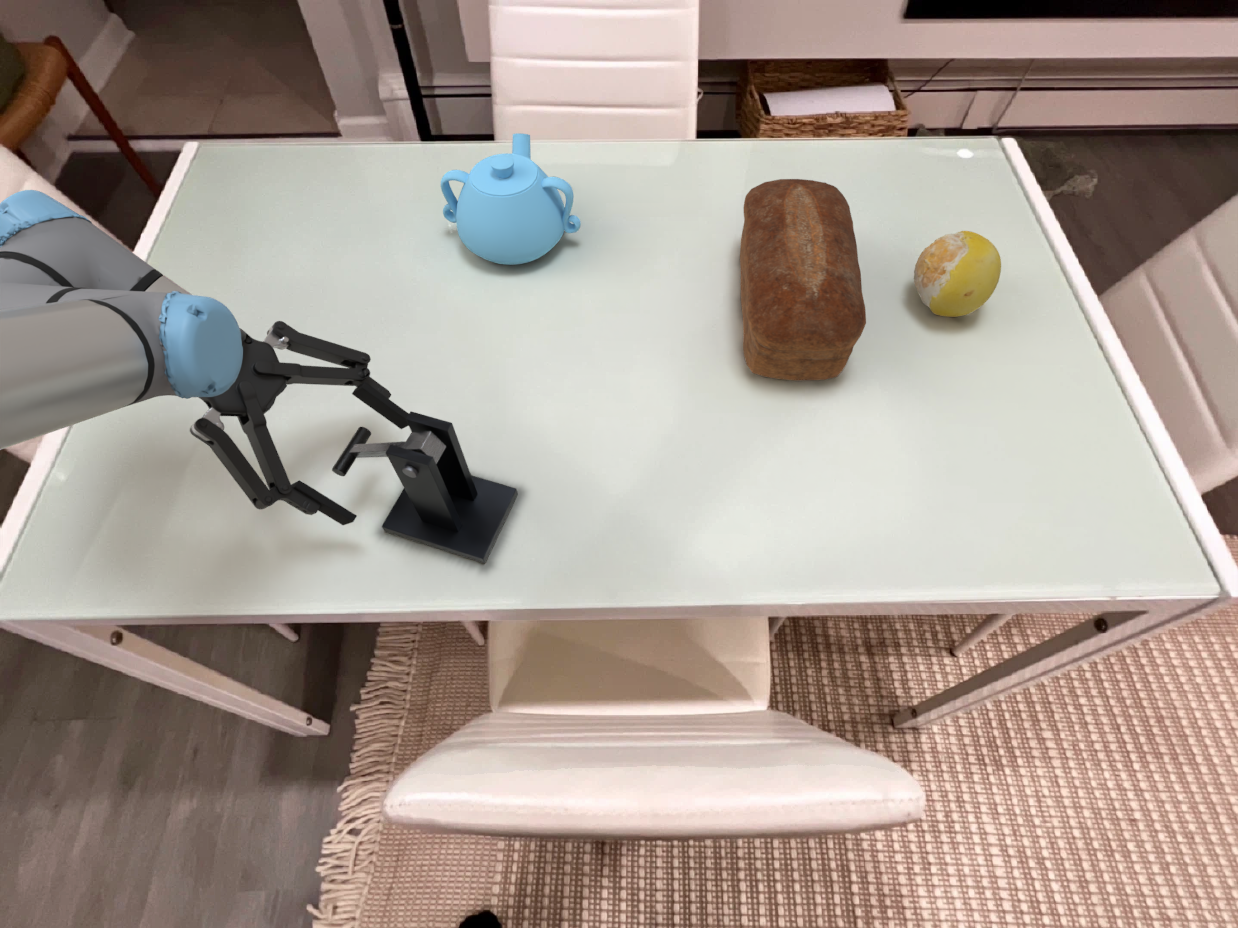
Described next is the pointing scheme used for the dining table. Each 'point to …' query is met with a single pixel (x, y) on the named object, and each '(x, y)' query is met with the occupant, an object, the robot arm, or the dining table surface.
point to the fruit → (957, 273)
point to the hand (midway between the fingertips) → (380, 470)
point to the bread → (799, 281)
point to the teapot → (509, 207)
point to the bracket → (446, 497)
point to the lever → (359, 448)
